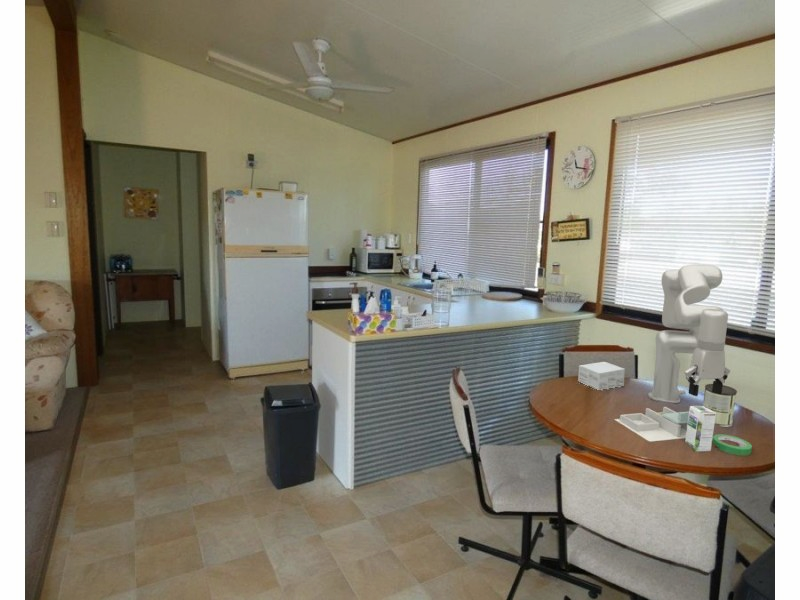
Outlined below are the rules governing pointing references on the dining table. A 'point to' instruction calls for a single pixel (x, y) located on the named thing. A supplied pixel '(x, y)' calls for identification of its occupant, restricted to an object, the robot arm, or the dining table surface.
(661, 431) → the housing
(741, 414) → the dining table surface
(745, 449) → the tape roll
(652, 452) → the dining table surface
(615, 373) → the supplement box
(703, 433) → the syrup box
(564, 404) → the dining table surface
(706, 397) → the coffee can
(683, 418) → the lid
